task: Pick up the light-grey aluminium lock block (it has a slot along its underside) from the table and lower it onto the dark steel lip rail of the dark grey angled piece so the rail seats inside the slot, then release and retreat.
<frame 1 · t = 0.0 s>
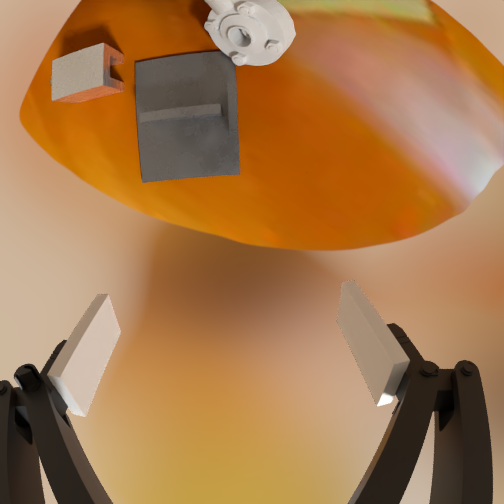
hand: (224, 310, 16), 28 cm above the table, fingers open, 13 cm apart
lock: (99, 78, 32), on the table
valve: (255, 9, 30), on the table
dark grey angled piece: (186, 114, 36), on the table
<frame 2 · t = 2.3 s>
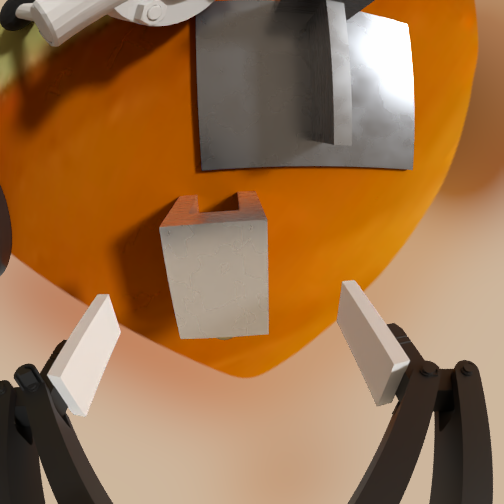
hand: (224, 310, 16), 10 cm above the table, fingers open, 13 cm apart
lock: (220, 240, 24), on the table
dark grey angled piece: (315, 80, 19), on the table
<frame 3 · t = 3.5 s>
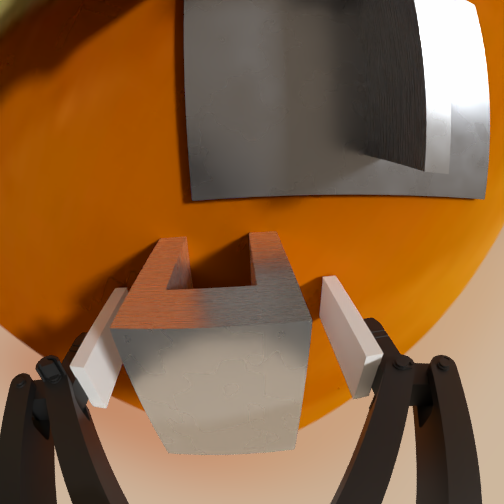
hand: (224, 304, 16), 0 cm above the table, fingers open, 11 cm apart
lock: (223, 301, 16), on the table
dark grey angled piece: (368, 62, 11), on the table
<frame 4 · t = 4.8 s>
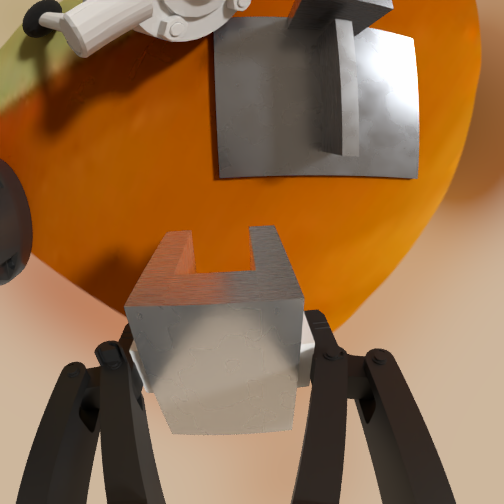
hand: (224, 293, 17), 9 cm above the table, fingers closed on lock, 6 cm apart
lock: (225, 291, 18), point 9 cm above the table, touching gripper
valve: (133, 6, 17), on the table, touching dark grey angled piece
dark grey angled piece: (325, 94, 21), on the table
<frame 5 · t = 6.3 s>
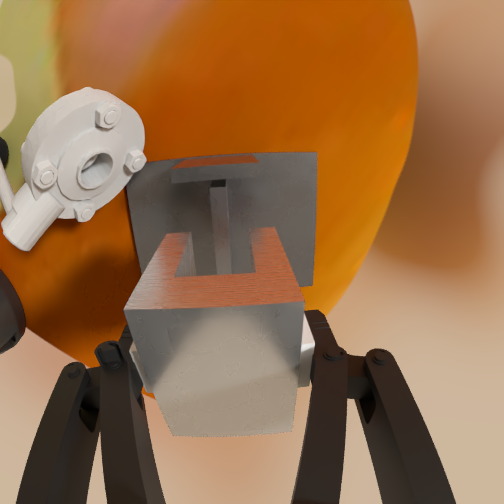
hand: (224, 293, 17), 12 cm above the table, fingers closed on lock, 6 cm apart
lock: (225, 293, 18), point 12 cm above the table, touching gripper
valve: (62, 146, 23), on the table, touching dark grey angled piece
dark grey angled piece: (223, 226, 28), on the table
when the fingers open (2 cm above the table, at t = 8.0 s): lock drops 1 cm, resting on dark grey angled piece.
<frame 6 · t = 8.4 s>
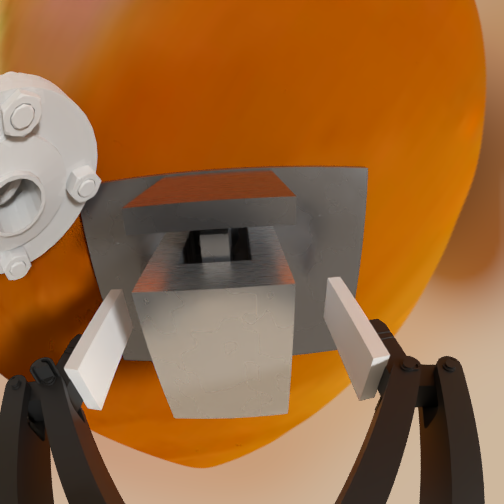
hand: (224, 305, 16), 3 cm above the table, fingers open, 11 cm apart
lock: (224, 283, 19), point 1 cm above the table, touching dark grey angled piece
valve: (2, 160, 14), on the table, touching dark grey angled piece
dark grey angled piece: (225, 276, 19), on the table
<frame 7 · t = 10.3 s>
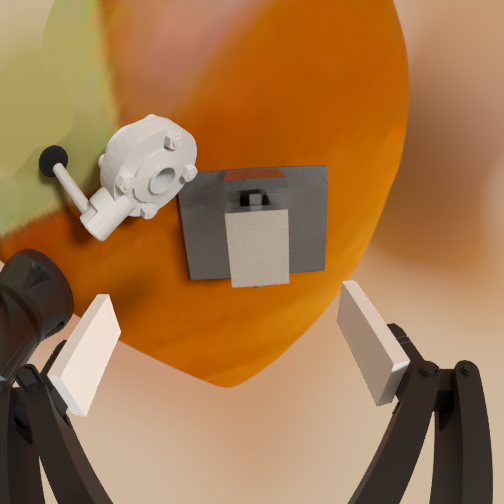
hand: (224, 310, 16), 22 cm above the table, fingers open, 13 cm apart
lock: (255, 226, 36), point 1 cm above the table, touching dark grey angled piece
valve: (120, 157, 32), on the table, touching dark grey angled piece
dark grey angled piece: (255, 223, 36), on the table
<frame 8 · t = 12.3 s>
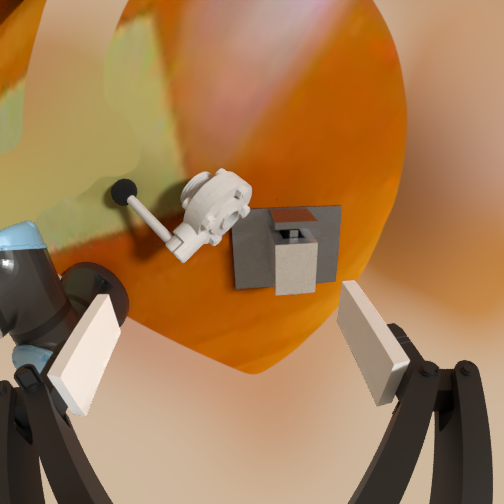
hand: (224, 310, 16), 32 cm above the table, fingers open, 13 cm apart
lock: (287, 249, 48), point 1 cm above the table, touching dark grey angled piece
valve: (183, 193, 44), on the table, touching dark grey angled piece
dark grey angled piece: (287, 247, 49), on the table
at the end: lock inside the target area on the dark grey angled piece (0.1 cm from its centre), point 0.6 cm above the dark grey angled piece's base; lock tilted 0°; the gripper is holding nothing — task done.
